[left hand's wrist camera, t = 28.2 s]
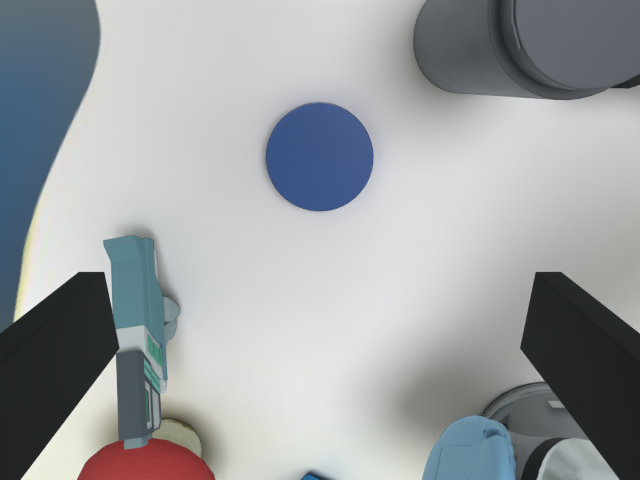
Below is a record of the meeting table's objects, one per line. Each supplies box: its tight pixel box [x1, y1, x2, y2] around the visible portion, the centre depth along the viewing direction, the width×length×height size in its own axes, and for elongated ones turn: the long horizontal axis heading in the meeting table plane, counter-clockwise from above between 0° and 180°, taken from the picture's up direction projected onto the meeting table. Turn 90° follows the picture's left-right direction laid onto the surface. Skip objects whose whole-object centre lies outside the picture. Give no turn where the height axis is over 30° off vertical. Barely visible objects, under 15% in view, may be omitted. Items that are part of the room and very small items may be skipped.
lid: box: [266, 102, 373, 211], centre depth 40 cm, size 10×10×2 cm
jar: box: [414, 0, 640, 100], centre depth 28 cm, size 10×10×20 cm
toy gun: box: [103, 235, 180, 450], centre depth 42 cm, size 4×19×10 cm
